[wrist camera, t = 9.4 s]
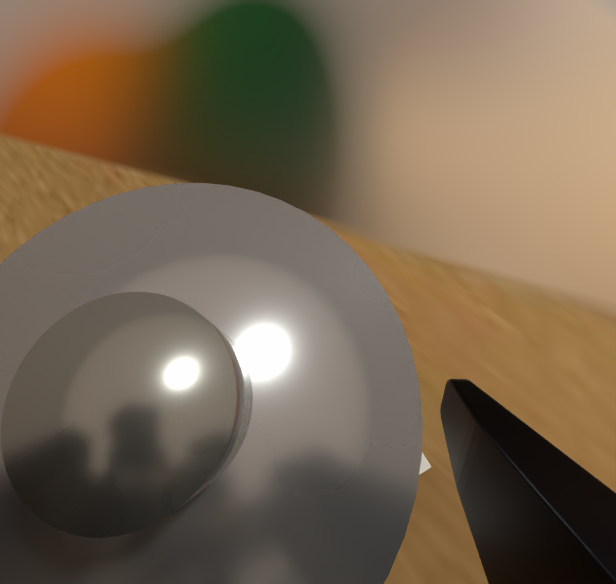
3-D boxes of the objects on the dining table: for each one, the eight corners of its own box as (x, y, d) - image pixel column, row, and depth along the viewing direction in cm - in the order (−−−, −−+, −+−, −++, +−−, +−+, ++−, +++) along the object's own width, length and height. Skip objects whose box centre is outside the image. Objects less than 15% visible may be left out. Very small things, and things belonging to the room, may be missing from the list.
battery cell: (346, 465, 15) (548, 867, 2) (222, 474, 15) (-404, 937, 2) (334, 342, 16) (402, 112, 4) (223, 350, 16) (-116, 150, 4)
